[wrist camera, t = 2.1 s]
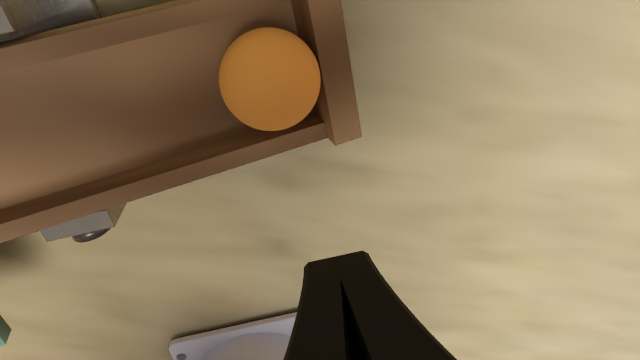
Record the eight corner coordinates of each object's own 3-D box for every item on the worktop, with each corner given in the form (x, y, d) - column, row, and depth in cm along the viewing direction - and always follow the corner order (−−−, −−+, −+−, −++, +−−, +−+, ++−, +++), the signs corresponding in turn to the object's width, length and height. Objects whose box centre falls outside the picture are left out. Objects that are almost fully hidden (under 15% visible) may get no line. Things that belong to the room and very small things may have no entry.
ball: (317, 100, 17) (339, 131, 14) (233, 122, 16) (237, 158, 13) (299, 10, 15) (319, 24, 12) (205, 32, 15) (204, 53, 12)
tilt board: (351, 207, 20) (377, 240, 18) (-149, 387, 16) (-200, 459, 14) (306, -32, 15) (335, -30, 13) (-422, 142, 11) (-571, 190, 9)
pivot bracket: (168, 182, 19) (148, 234, 16) (68, 204, 19) (27, 261, 16) (78, -37, 15) (25, -28, 12) (-51, -8, 15) (-141, 8, 12)
